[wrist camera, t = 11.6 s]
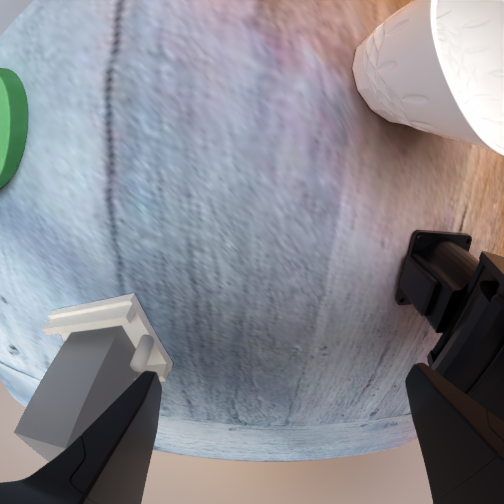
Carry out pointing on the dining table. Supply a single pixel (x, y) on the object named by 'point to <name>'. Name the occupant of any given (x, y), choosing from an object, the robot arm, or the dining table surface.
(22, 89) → the tape roll
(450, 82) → the white cup
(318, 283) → the dining table surface
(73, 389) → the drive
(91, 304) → the tray
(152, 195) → the dining table surface
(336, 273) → the dining table surface
